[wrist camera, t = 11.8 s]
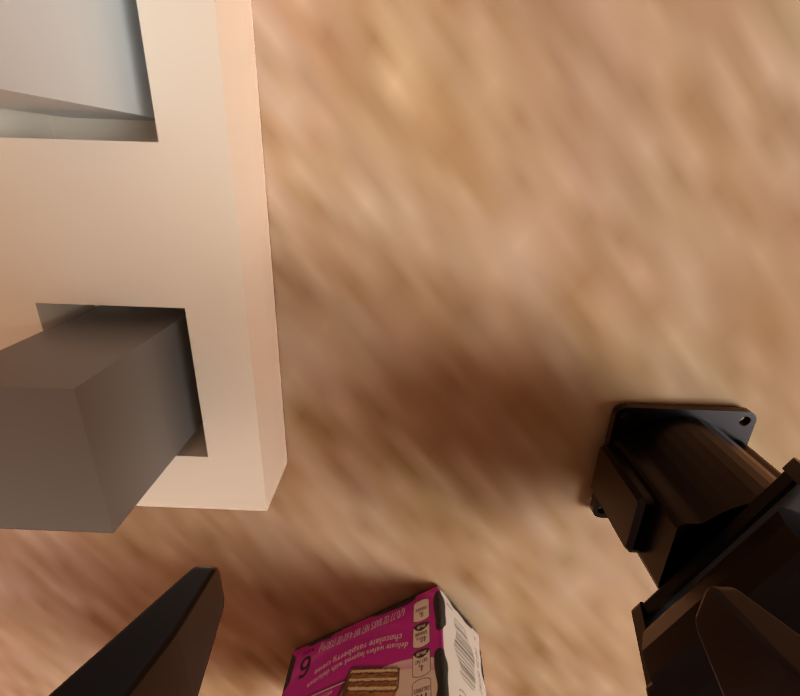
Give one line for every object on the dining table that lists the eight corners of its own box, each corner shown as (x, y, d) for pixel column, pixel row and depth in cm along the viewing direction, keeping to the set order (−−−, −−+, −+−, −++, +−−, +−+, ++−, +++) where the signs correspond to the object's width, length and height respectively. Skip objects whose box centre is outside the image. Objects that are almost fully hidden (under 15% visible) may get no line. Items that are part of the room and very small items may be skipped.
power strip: (237, -176, 14) (178, -290, 10) (287, 462, 23) (265, 515, 20) (-80, -184, 14) (-243, -300, 11) (93, 455, 23) (37, 506, 20)
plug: (153, -47, 15) (-102, -257, 7) (176, 122, 17) (-10, 87, 9) (33, -51, 15) (-339, -265, 8) (70, 117, 17) (-200, 79, 9)
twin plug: (202, 303, 19) (74, 388, 12) (216, 405, 21) (113, 533, 14) (110, 300, 19) (-74, 383, 12) (133, 402, 21) (-15, 527, 14)
